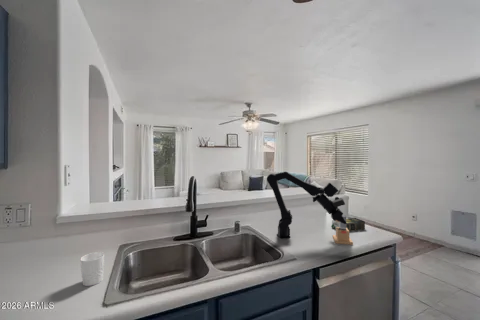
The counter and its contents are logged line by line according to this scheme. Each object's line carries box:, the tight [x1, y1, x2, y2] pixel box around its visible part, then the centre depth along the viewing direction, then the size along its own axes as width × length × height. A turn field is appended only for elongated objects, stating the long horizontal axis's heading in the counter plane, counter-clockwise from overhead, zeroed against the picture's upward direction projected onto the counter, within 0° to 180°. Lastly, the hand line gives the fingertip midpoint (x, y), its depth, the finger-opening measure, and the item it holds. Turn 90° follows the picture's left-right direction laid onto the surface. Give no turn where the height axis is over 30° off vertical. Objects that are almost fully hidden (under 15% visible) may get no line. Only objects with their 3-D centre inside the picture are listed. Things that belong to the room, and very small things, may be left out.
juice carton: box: [330, 217, 366, 232], centre depth 150 cm, size 20×10×6 cm, turn 105°
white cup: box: [80, 251, 105, 287], centre depth 87 cm, size 8×8×10 cm
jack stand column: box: [339, 214, 347, 230], centre depth 128 cm, size 3×3×12 cm
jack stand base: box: [332, 227, 354, 246], centre depth 128 cm, size 9×9×7 cm
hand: (345, 222), depth 127 cm, fingers closed on jack stand column, 3 cm apart
